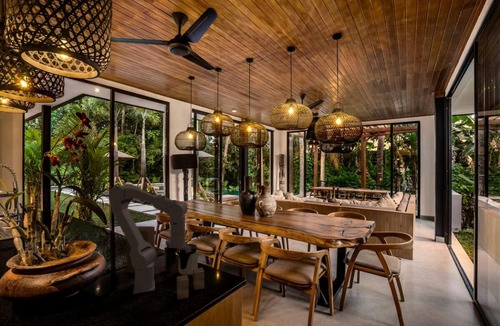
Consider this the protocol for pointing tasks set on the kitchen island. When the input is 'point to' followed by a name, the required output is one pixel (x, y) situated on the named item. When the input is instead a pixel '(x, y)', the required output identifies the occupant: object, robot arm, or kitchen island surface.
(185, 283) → the teal face block
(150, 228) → the block
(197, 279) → the rust face block
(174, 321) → the kitchen island surface
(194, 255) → the jar
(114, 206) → the robot arm
